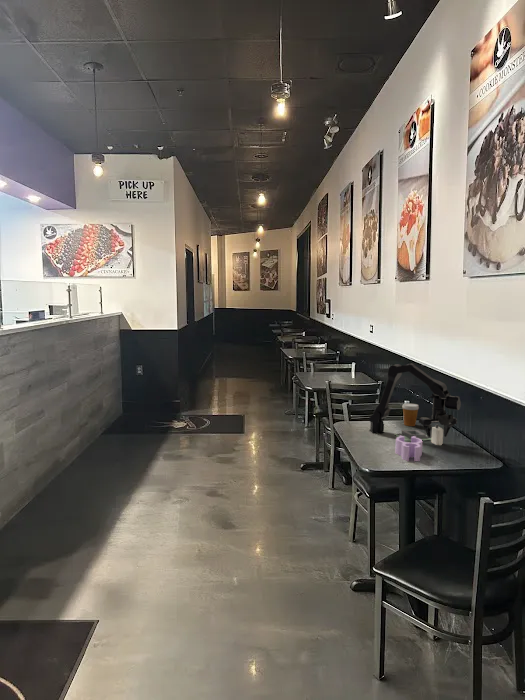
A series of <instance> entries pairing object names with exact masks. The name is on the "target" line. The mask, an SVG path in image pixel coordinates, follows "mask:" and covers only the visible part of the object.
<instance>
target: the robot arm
mask: <svg viewBox="0 0 525 700" xmlns="http://www.w3.org/2000/svg"><path fill="white" fill-rule="evenodd" d="M403 373H409V374H411V375H413V377H415V378H417V379H418V380H420V381H421V382H422V383H424V384H425V385H426V386H427V387H428V388H429V390H430V391H431V392H432V394H431V395H430V396H428V397H429V399H433V400H432V408H431V409H430V410H431V411H432V415H430V418H429V417H422V416H421V417H420V418H419V419H418V423H419V424H421V425H422V426H423V427H424V428H423V429H424V430H425V432H426V433H425V434H426V435H427V436H428V437H429V438H430V437H431V429H432V424H435V423H439V424H440V425H442V426H443V437H447V436H448V434H449V431H450V430H451V428H452V427H453V426H455V425H457V424H458V419H457V418H456V417H454V415H453V414H447V411H446V409H447V410H454V411H459V410H460V409H461V406H462V405H461V404H462V402H461V399H460V398H461V397H460V396H457V395H455V396H453V395H451V393H450V392H449V389H448V387H447V384H445V382H442V381H440V380H438V379H435V378H433V377H431V376H430V375H429V374H427V373H426V372H425V371H423V370H422V369H420V368H419V367H418V366H416V365H415V364H414V363H408V364H402V365H401V364H396V363H395V364H393V365H390V366H389V367H388V371H387V382H386V384H385V386H384V387H385V388H384V391H383V393H382V396H381V398H380V400H379V401H380V402H379V403H378V405H377V406H376V407H375V409H374V410H373V413H372V414H371V416H369V417H368V420H369V422H370V427H369V428H370V429H369V432H371V433H372V434H385V423H384V421H385V419H386V418H388V416H390V412H391V410H392V409H391V407H389V404H390V401H391V399H392V395H393V392H394V389H395V387H396V383H397V382H398V380H399V379H400V378H401V376H402V374H403Z"/></svg>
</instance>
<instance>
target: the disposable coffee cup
mask: <svg viewBox="0 0 525 700" xmlns="http://www.w3.org/2000/svg"><path fill="white" fill-rule="evenodd" d="M401 408H402V412H403V425H404V426H406V427H415V426H416V423H417V418H418V412H419V409H420V407H419V404H417V403H411V402H408V403H403V404H402V406H401Z"/></svg>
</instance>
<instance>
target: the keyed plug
mask: <svg viewBox="0 0 525 700" xmlns="http://www.w3.org/2000/svg"><path fill="white" fill-rule="evenodd" d="M430 437H431V440H430V443H432V444H434V445H435V446H442V444H444V443H443V442H444V428H442V427H440V426H439V424H435V426H431V436H430Z"/></svg>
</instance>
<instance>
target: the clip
mask: <svg viewBox="0 0 525 700" xmlns="http://www.w3.org/2000/svg"><path fill="white" fill-rule="evenodd" d="M404 440H405V437H404V436H401V435H400V436H399V437H397V436H396V438H395V448H394V449H395V450H394V453H395V454H396V455H397V454H398V456H400V455H401V460H402V459H403V460H402V461H404V460H406V461H405V462H410V458H412V457H414V458H413V460H414V462H415V461H418V462H420V461H421V456H423V441H424V440H423V441H422V440H421V439H419V438H416V436H412V437H411V441H404Z"/></svg>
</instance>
